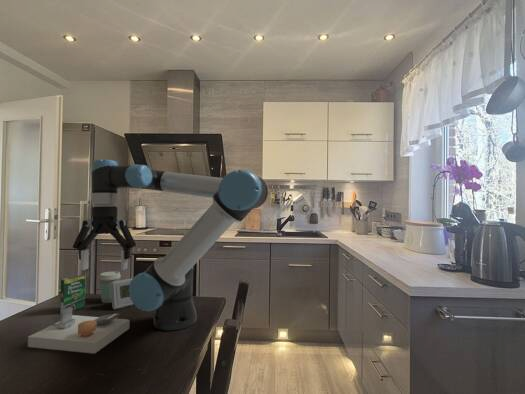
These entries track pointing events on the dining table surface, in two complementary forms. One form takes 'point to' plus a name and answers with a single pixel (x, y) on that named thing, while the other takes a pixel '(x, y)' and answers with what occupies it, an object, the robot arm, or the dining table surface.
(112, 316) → the grey flat block
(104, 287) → the coffee cup
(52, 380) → the dining table surface
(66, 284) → the coffee box
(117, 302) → the digital clock
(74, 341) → the panel
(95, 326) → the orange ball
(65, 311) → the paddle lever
